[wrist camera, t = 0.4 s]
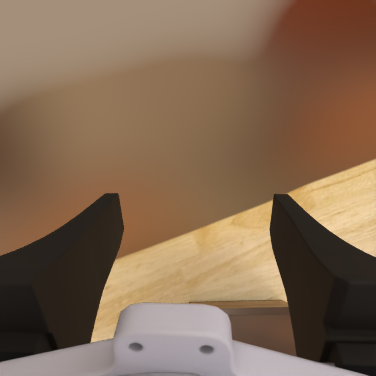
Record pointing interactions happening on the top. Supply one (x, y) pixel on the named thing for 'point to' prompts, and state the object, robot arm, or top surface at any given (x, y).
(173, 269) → the top surface
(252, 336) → the wooden box
